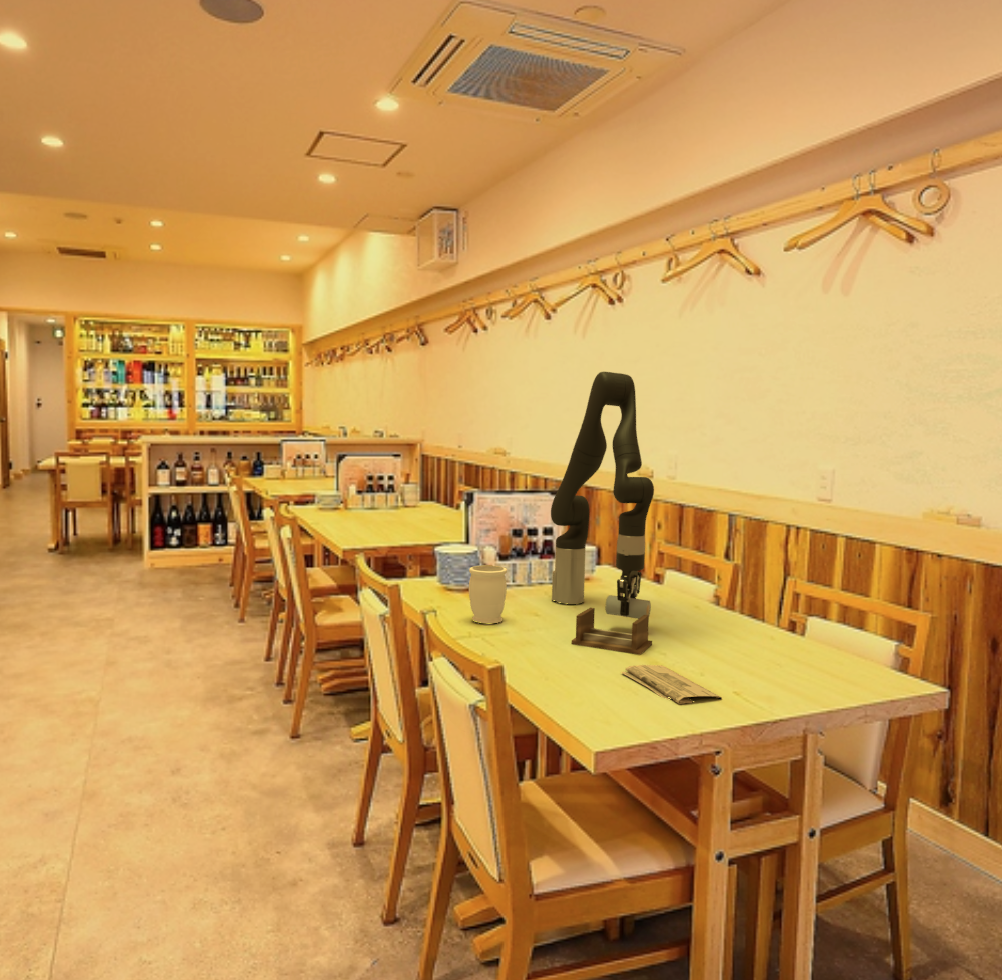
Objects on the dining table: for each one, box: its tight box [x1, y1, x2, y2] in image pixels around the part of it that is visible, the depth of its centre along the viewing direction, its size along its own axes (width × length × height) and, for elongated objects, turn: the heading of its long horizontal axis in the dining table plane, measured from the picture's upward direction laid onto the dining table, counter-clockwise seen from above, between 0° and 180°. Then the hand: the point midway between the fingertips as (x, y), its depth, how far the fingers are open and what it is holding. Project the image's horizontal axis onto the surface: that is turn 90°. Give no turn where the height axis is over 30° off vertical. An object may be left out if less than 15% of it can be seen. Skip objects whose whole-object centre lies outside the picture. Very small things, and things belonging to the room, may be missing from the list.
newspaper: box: [620, 664, 723, 705], centre depth 172 cm, size 23×12×2 cm, turn 20°
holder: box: [571, 607, 653, 656], centre depth 203 cm, size 18×10×8 cm, turn 63°
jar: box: [468, 565, 508, 624], centre depth 223 cm, size 11×10×15 cm
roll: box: [604, 594, 652, 620], centre depth 215 cm, size 11×5×5 cm, turn 63°
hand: (627, 612), depth 215 cm, fingers closed on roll, 5 cm apart
